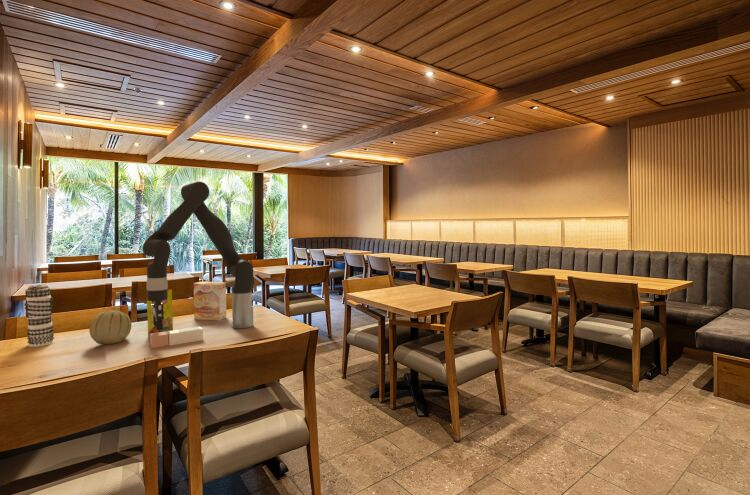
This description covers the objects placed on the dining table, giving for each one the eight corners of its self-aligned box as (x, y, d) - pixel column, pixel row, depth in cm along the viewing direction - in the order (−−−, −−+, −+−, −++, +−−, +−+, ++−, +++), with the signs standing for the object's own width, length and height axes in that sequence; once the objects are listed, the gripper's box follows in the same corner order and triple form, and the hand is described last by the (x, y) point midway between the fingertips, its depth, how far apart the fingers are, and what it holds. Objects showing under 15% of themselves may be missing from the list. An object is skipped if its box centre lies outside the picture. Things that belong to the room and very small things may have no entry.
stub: (166, 342, 163) (166, 331, 163) (168, 345, 159) (168, 333, 159) (150, 345, 160) (150, 333, 159) (152, 348, 156) (151, 336, 155)
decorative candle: (60, 341, 167) (57, 284, 166) (35, 348, 159) (32, 287, 157) (46, 339, 170) (43, 283, 169) (21, 345, 162) (18, 286, 160)
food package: (149, 340, 170) (147, 295, 169) (147, 339, 171) (145, 295, 169) (173, 330, 185) (172, 289, 184) (171, 330, 186) (170, 289, 184)
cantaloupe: (86, 352, 154) (85, 315, 153) (93, 341, 167) (91, 307, 166) (130, 346, 161) (129, 311, 160) (133, 337, 174) (132, 304, 173)
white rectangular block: (200, 337, 171) (200, 326, 171) (203, 340, 167) (202, 328, 167) (167, 342, 163) (167, 330, 163) (169, 345, 159) (169, 333, 159)
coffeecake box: (193, 319, 206) (192, 283, 204) (201, 316, 213) (200, 281, 211) (219, 320, 203) (218, 284, 202) (226, 317, 210) (226, 282, 209)
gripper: (170, 290, 154) (171, 329, 155) (164, 285, 166) (165, 322, 167) (148, 291, 150) (149, 332, 151) (144, 286, 161) (145, 324, 162)
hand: (157, 327), depth 159 cm, fingers open, 8 cm apart
